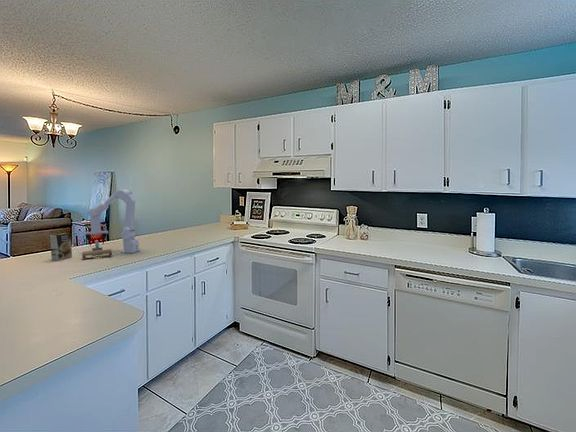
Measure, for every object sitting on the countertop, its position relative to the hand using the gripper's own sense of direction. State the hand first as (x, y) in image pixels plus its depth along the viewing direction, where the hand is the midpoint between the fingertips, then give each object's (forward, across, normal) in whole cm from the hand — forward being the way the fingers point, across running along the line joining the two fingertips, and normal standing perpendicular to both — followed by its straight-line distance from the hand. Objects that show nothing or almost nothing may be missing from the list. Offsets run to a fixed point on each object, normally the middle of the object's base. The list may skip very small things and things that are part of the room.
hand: (96, 244), depth 213 cm
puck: (+5, 0, +21) cm, 22 cm away
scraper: (+5, 0, +6) cm, 8 cm away
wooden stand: (+5, 0, +20) cm, 21 cm away
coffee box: (+5, +19, +12) cm, 23 cm away
